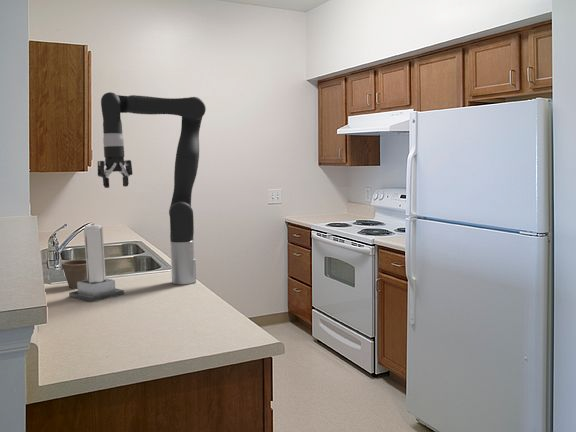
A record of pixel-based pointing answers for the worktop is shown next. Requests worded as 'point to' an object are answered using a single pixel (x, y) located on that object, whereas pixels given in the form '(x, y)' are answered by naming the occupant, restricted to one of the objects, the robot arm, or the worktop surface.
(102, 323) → the worktop surface
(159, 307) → the worktop surface
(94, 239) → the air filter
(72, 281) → the flower pot
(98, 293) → the duct collar
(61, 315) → the worktop surface
